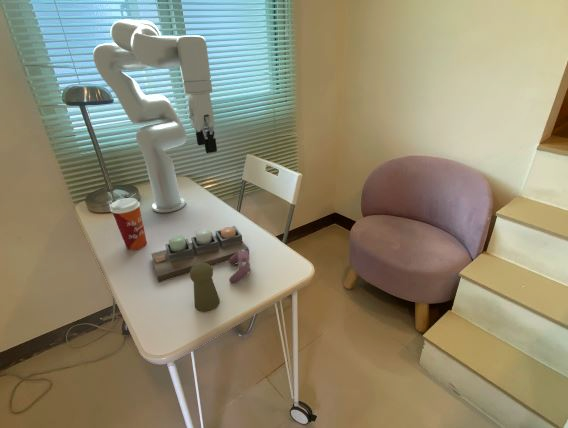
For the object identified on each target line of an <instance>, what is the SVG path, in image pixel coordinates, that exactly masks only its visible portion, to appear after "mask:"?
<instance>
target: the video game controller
mask: <svg viewBox="0 0 568 428" xmlns="http://www.w3.org/2000/svg"><path fill="white" fill-rule="evenodd" d="M249 255H250V254H249ZM249 255H248V250H244V249H243V250H239V251H238V252H237V253H236V254H235V255H233V256H232V257H231V258H230V259H229V261H228V263H229V265H231V266H232V265H236V264H238V268H237V270H236V271H235V272H234V273H233V274H232V275H230V278H229V279H228V280H229V283H230V284H237V283H239V282H241V281H242V280H243V279H244V278H246V276H248V274H249V273H250V272H251V270H252V268H251V267H250V266H251V264H250V261H249V260H250V257H249Z"/></svg>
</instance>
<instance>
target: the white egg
mask: <svg viewBox="0 0 568 428" xmlns="http://www.w3.org/2000/svg"><path fill="white" fill-rule="evenodd" d="M194 233H195V234H194V235H195V237H196V241H197V244H198V245H205V244H209V243H211V242H212V237H211V230H210V229H208V228H201V229H198V230H196V231H195V232H194Z"/></svg>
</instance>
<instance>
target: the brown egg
mask: <svg viewBox="0 0 568 428" xmlns="http://www.w3.org/2000/svg"><path fill="white" fill-rule="evenodd" d="M220 230H221V237H222V239H226V238H230V237H233V236H236V232H235V228H233V226H227V227H224V228H222V229H220Z"/></svg>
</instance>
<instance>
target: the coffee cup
mask: <svg viewBox="0 0 568 428" xmlns="http://www.w3.org/2000/svg"><path fill="white" fill-rule="evenodd" d="M140 206H141V203H140V202H139V201H138V199H136V198H134V197H125V198H124V197H123V198H120V199H117V200H115V201H113V202H112V203H111V204H110V210H109V211H110V212H111V213H112V215H113V217H114V220H115V222H116V225H117V227H118V230H119V232H120V235H121V237H122V240H123V242H124V245H125V247H126V249H127V250H129V251H135V250H136V251H137V250H140V249H142V248H144V247H145V246H146V245H147V244H148V243H147V238H146V232H145V227H144V223H143V217H142V213H141V212H142V211H141V207H140Z"/></svg>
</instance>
